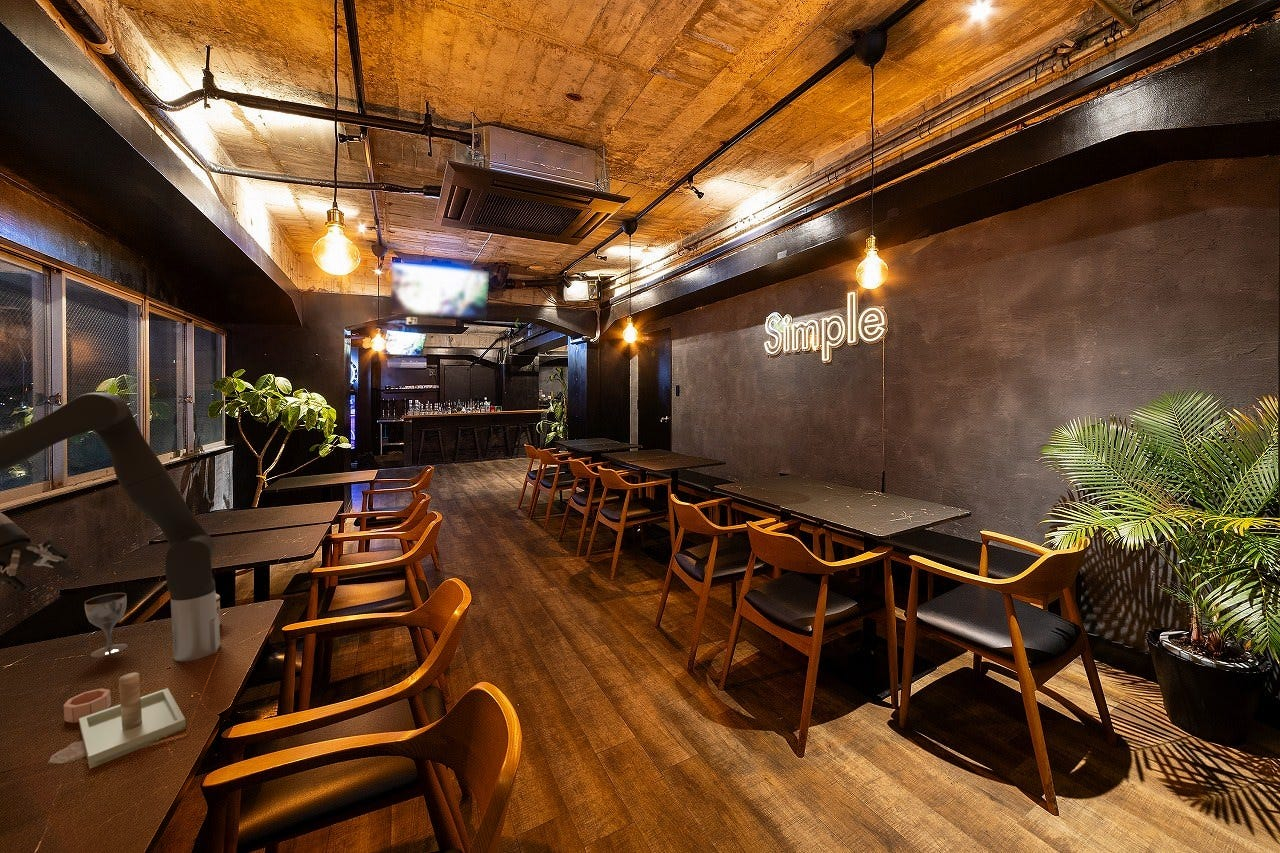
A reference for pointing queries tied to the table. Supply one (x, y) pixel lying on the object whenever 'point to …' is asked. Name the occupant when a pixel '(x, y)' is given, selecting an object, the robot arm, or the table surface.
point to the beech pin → (130, 701)
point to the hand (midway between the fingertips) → (48, 582)
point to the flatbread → (69, 753)
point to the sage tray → (112, 741)
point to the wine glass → (106, 618)
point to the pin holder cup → (86, 704)
